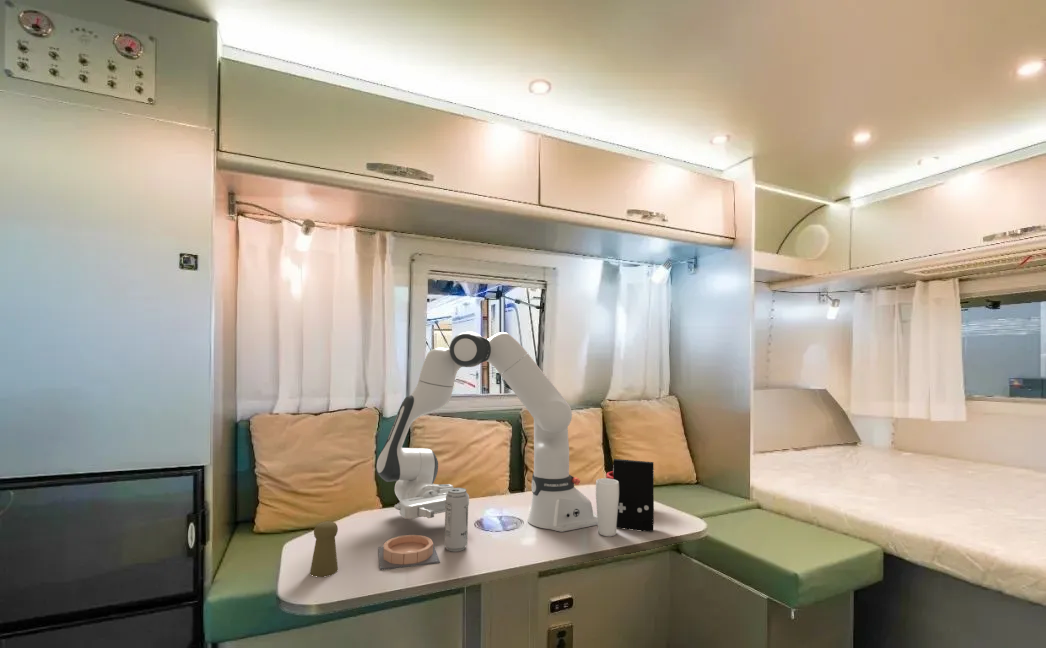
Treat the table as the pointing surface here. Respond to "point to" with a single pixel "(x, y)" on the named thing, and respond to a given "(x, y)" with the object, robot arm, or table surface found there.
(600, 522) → the drinking glass
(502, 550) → the table surface
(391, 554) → the dish
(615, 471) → the handheld gaming console
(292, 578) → the table surface
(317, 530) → the cork
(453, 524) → the energy drink can
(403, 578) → the table surface
